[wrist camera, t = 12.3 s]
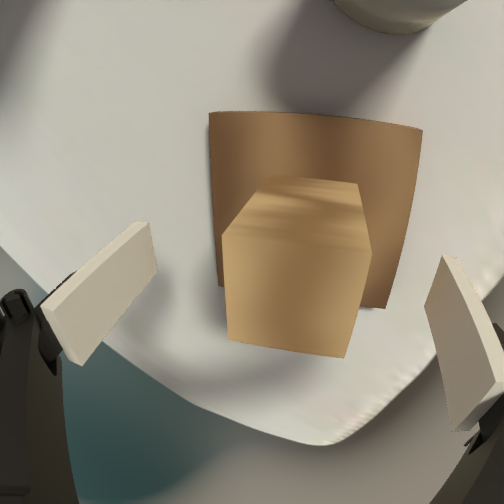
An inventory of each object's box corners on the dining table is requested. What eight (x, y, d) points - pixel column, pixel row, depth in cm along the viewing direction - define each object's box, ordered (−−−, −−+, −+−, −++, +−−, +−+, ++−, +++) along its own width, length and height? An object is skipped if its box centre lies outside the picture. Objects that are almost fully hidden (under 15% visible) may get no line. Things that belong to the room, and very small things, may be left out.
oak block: (267, 250, 19) (228, 339, 13) (269, 174, 17) (221, 235, 10) (345, 260, 18) (344, 358, 12) (357, 183, 16) (372, 253, 9)
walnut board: (224, 277, 23) (218, 285, 22) (216, 111, 17) (208, 113, 16) (383, 298, 20) (385, 308, 19) (417, 128, 14) (422, 130, 13)
